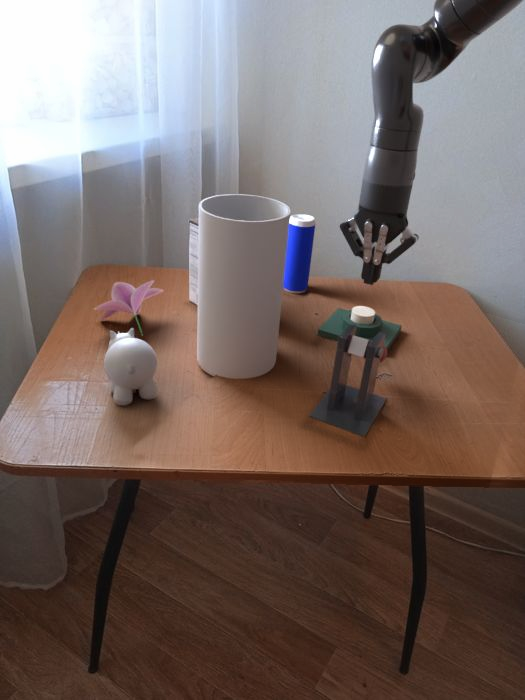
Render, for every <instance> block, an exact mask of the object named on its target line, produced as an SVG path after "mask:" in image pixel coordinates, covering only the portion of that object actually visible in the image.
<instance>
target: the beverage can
mask: <svg viewBox="0 0 525 700" xmlns="http://www.w3.org/2000/svg"><path fill="white" fill-rule="evenodd" d="M315 231H316V219H315V217H314V216H312V215H310V214H305V213H295V214H292V215H290V221H289V232H288V242H287V252H286V262H285V273H284V283H283V290H284V291H286V292H287V293H290V294H302V293H305V292H306V291H307V290H308V288H309V279H310V274H311V273H310V272H311V263H312V256H313V255H312V254H313V247H314V238H315Z"/></svg>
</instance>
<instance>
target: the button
mask: <svg viewBox="0 0 525 700" xmlns="http://www.w3.org/2000/svg"><path fill="white" fill-rule="evenodd" d="M351 309H352V312H351V318H350V319H351V320H352V321H353V322H355V323H359V324H365V325H369V324H373V322H374V317H375V313H376V311H375V310H374V309H373V308H372V307H369V306H365V305H357V306H353V307H352V308H351Z"/></svg>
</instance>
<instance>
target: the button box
mask: <svg viewBox="0 0 525 700" xmlns="http://www.w3.org/2000/svg"><path fill="white" fill-rule="evenodd" d="M351 312H352V308H350V309H345V308H341V307H338V308H337V309H336V310H335V311H334V312H333V313H332V314H331V316H329V317H328V318H327V319H326V320H325V321H324V323H322V325H320V326H319V328H318V329H317V337H322V338H325V339H328V340H332V341H334V342H338V338H339V336H340V335H341V334H342V332H343V331H344V330H345V329H346V328H347V327H348V326H349V324H353V325H356V326H357V328H356V334H355V336H357V337H361V338H364V339H367V340H370V341H372V340H373V339H374V337H375V336H376V335H377V333H378V332H380V333H384V334H386V335H385V340H384V345H385V347H386V349H387V352H388V351H389V349H390V348H391V346H392V345H393V344H394V342H395V340H396V339H397V338H398V336H399V334H400V333H401V331H402V325H400V324H397V323H394V322H390V321H386V320H383V319H382V317H381V316H380V315H379V314H377V313H376V312H375V317H374V322H373V324H369V325H365V324H359V323H355V322H353V321H352V320H351V319H350V318H351Z"/></svg>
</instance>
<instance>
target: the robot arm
mask: <svg viewBox="0 0 525 700" xmlns="http://www.w3.org/2000/svg"><path fill="white" fill-rule="evenodd" d="M523 2H524V0H435V1H434V4H433V10H432V11H433V12H432V13H433V15H432V17H430V19H428V20H427V21H426V22H424V23H423V24H421V25H415V24H405V23H404V24H403V23H401V24H400V23H399V24H393V25H391V26H389V27H388V28H386V29H385V30H384V31H383V32H382V33H381V34H380V36H379V37H378V39H377V41H376V43H375V46H374V48H373V52H372V56H371V63H370V64H371V65H370V69H371V71H370V73H371V74H370V75H371V90H372V91H371V92H372V103H373V111H374V113H373V115H374V116H373V122H372V125H371V126H372V127H371V133H370V140H369V146H368V149H367V154H366V157H365V162H364V168H363V174H362V180H361V181H362V182H361V186H360V187H361V188H360V194H359V200H358V207H357V210H356V211H355V212H354V214H353V217H352V218H350V219H348V218H347V219H345V220H344V221H343V222H342V223H340V224H339V229H340V231H341V233H342V235H343V237H344V239H345V241H346V242H347V244H348V246H349V248H350V250H351V252H352V254H353V255H354V256H355V257H359V258H360V259H361V260H362V262H363V263H362V269H361V275H360V277H361V280H363V284H365V285H370V286H373V285H374V284H375V283H377V282H378V281H379V279H381V274H382V269H383V264H386V265H390V264H392V263H393V262H394V261H395V260H396V259H398V258H399V257H400V256H402V255H403V254H404V253H405V252H406V251H408V250H409V249H410V248H412V247H413V246H414V245H415V244H416V243H417V241H419V235H418V234H417V233H413V231H412V230H411V229H410V228H409V220H408V210H409V205H410V199H411V195H412V191H413V185H414V180H415V178H416V171H417V162H418V151H419V146H420V140H421V135H422V129H423V125H424V115H425V114H424V110H423V108H422V107H421V106H420V105H419V104H417V103H414V91H413V90H414V84H422V83H425V82H429V81H430V80H432V79H434V78H436V77H438V76H439V75H440V74H441V73H442V72H444V71H445V70H446V69H447V68H448V67H449V66H450V65H452V63H453V62H454V61H455V60H456V59H457V58H458V57H459V56H460V55H461V54H462V53H463V52H464V51H465V50H466V48H467V47H468V46H469V44H470V43H471V42H472V41H474V39H476V38H477V37H479V36H480V35H482V34H484V33H485V32H486V31H487V30H489V29H490V28H491V27H493V26H494V25H495V24H496V23H498V22H499V21H500V20H502V19H503V18H505V17H506V16H507V15H509V13H511V12H512V11H514V9H516V8H517V7H518V6H519V5H520V4H522V3H523ZM357 230H358V231H359V233H360V235H361V236H362V238H363V241H362V239H361V237H360V235H359V233H358V231H357ZM401 234H402V236H401V238H400V239H399V241H400V244H399V245H398V246H396V247H395V248H394V249H393V250H391V252H388V253H387V251H388V248H389V246H390V244H391V243H392V242H393V241H395V240H396V239H397V238H398V237H399V236H400V235H401Z"/></svg>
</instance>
